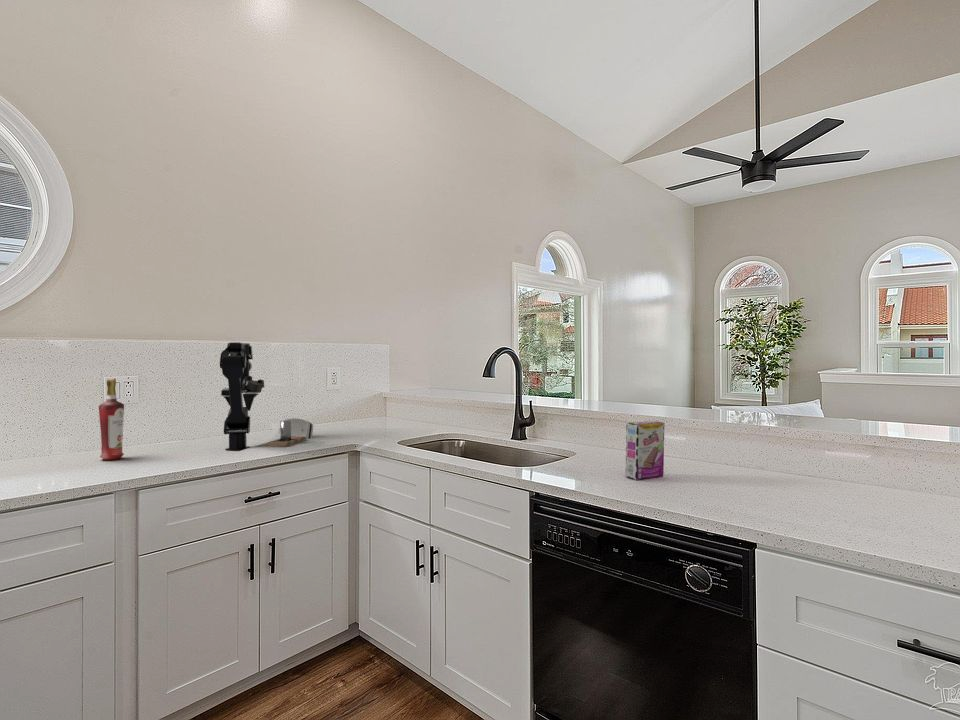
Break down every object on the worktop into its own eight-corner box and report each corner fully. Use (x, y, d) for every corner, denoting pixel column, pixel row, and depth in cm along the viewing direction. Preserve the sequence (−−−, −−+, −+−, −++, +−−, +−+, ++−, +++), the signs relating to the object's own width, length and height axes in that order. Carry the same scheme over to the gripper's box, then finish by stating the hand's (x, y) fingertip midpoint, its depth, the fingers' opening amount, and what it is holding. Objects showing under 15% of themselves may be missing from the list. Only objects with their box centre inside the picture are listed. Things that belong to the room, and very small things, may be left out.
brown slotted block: (286, 449, 202) (286, 442, 202) (267, 449, 203) (266, 442, 203) (306, 442, 218) (306, 436, 218) (288, 442, 219) (288, 435, 219)
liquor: (112, 456, 188) (111, 378, 188) (129, 457, 187) (129, 378, 186) (93, 460, 181) (92, 379, 181) (112, 461, 180) (111, 379, 179)
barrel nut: (287, 447, 207) (287, 421, 207) (278, 446, 208) (278, 421, 208) (293, 445, 211) (292, 420, 211) (283, 445, 212) (283, 420, 212)
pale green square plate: (318, 448, 204) (318, 445, 204) (298, 447, 205) (298, 445, 205) (327, 444, 212) (327, 442, 212) (308, 444, 213) (308, 442, 213)
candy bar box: (637, 481, 152) (637, 424, 152) (625, 477, 156) (625, 422, 156) (665, 476, 157) (665, 422, 157) (652, 473, 161) (652, 420, 161)
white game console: (273, 439, 226) (279, 416, 229) (280, 441, 230) (286, 419, 233) (304, 441, 220) (309, 418, 223) (311, 443, 224) (316, 420, 227)
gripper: (246, 374, 205) (246, 414, 205) (272, 373, 223) (272, 409, 223) (220, 374, 206) (220, 414, 207) (248, 372, 225) (248, 409, 225)
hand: (241, 411), depth 215 cm, fingers open, 9 cm apart
